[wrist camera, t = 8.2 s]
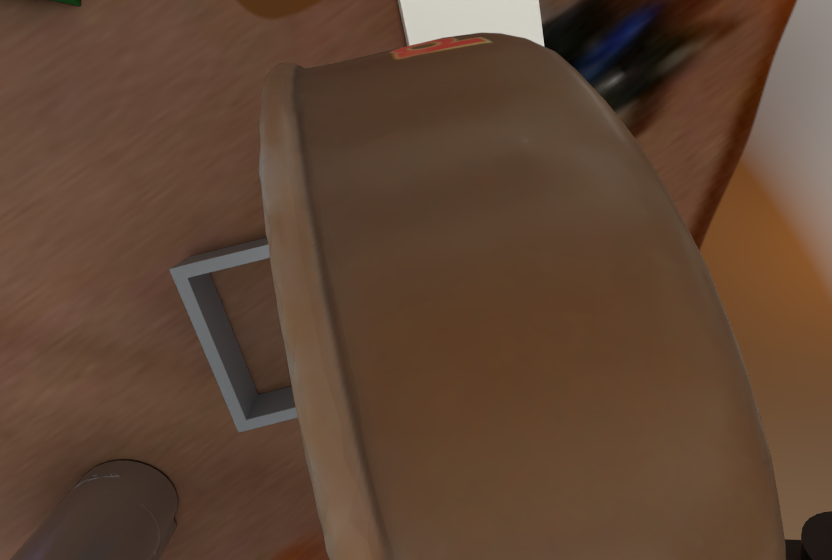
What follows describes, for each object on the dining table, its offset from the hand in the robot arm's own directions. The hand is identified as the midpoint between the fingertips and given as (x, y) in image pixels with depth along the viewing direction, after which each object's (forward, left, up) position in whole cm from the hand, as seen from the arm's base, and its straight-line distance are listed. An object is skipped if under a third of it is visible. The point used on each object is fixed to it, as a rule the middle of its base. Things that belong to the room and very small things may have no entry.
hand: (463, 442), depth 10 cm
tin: (0, 0, -2) cm, 2 cm away
